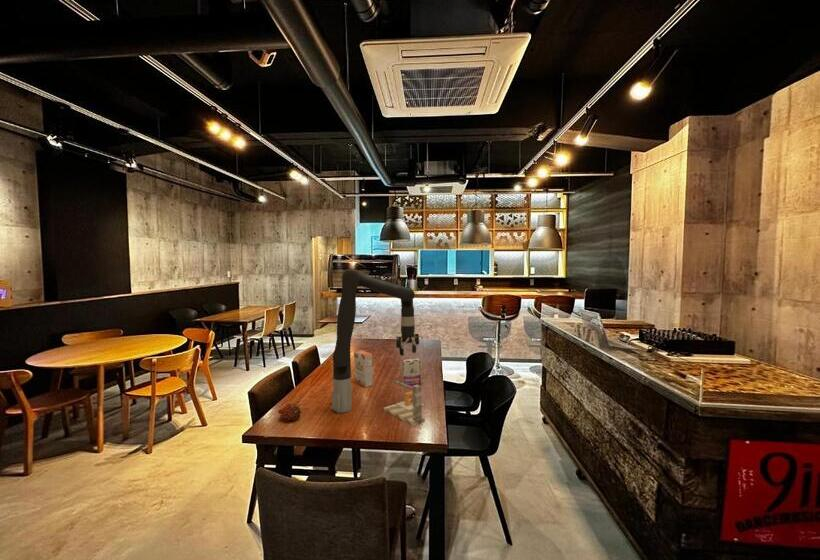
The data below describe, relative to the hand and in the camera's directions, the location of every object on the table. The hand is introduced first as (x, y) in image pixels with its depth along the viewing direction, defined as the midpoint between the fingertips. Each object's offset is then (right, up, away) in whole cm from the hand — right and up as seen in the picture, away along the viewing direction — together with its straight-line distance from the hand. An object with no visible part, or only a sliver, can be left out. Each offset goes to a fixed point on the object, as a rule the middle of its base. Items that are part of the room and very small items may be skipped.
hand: (407, 354), depth 187 cm
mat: (+1, -28, +1) cm, 28 cm away
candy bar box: (+2, -27, +33) cm, 43 cm away
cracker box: (-29, -27, +36) cm, 53 cm away
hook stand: (-2, -29, -13) cm, 31 cm away
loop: (+1, -28, +1) cm, 28 cm away
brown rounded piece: (-59, -30, -15) cm, 68 cm away
